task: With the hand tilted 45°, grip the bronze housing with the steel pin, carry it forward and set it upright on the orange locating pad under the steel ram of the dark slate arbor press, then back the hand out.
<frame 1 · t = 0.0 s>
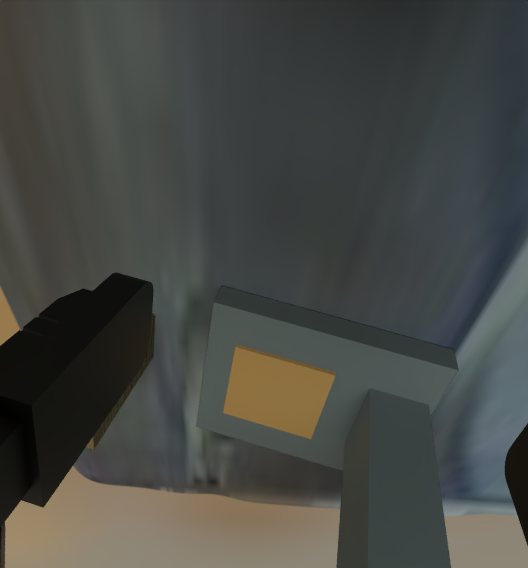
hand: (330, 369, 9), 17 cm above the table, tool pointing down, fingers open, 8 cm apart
press: (312, 382, 33), on the table
housing: (127, 328, 34), on the table
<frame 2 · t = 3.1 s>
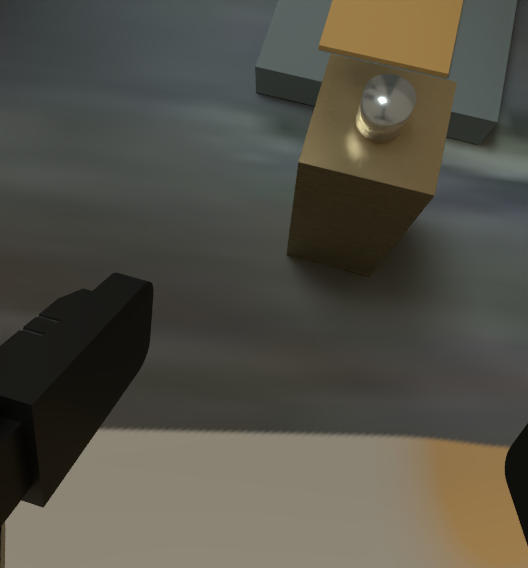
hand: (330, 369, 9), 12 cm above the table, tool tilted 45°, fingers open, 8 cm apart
press: (392, 10, 27), on the table
housing: (337, 227, 23), on the table
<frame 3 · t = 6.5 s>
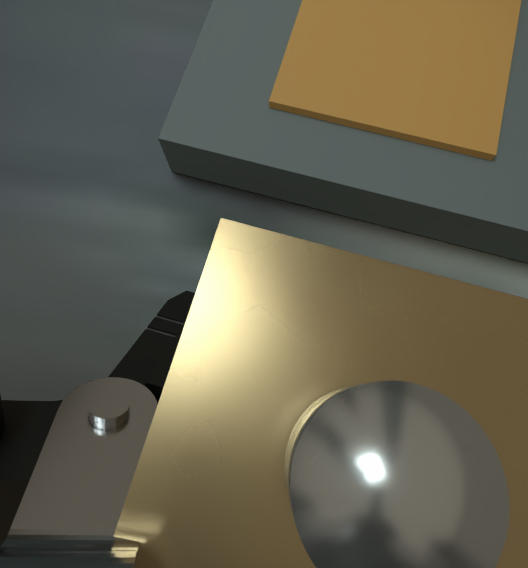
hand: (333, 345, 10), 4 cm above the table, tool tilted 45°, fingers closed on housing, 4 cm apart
press: (397, 35, 17), on the table
housing: (298, 424, 13), on the table, touching gripper
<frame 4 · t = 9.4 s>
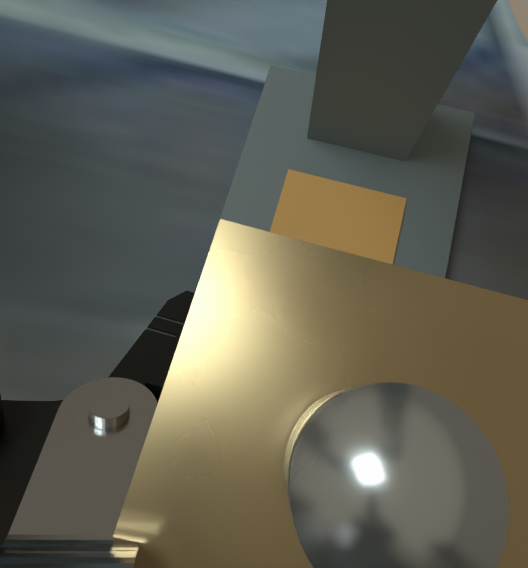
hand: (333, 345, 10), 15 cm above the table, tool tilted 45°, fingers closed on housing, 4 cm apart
press: (336, 215, 27), on the table
housing: (298, 424, 13), point 11 cm above the table, touching gripper
when the fingers open (8 cm above the table, at t = 12.3 s): housing drops 1 cm, resting on press.
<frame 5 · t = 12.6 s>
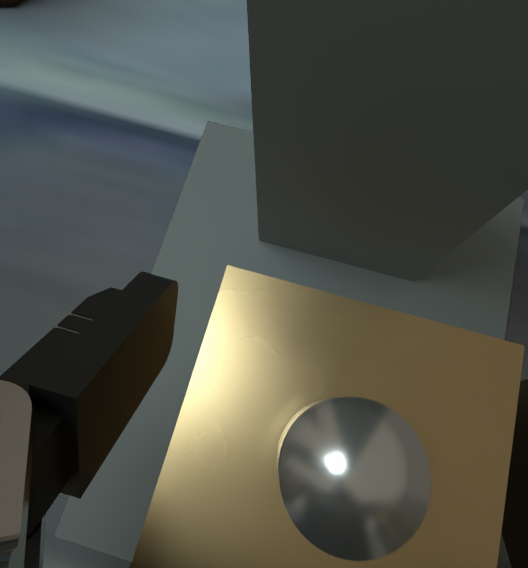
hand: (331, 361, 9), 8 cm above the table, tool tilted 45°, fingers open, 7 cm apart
press: (307, 356, 17), on the table
housing: (294, 425, 14), point 2 cm above the table, touching press
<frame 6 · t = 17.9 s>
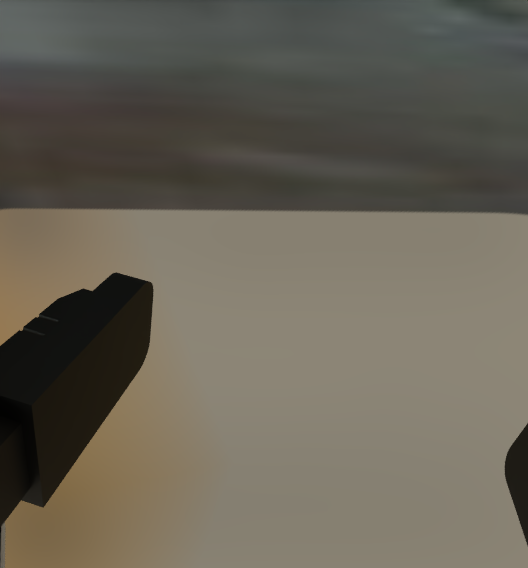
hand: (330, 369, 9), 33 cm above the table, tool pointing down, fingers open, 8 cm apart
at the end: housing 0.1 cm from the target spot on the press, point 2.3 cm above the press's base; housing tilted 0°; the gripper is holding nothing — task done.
